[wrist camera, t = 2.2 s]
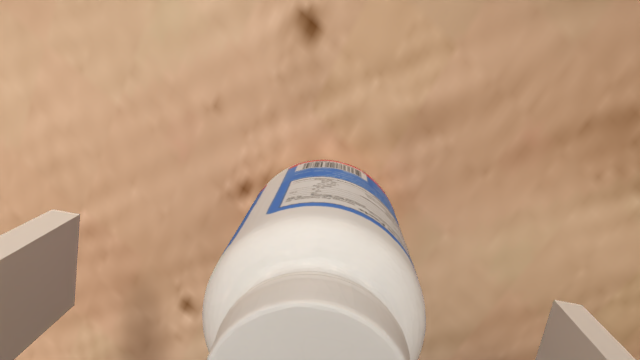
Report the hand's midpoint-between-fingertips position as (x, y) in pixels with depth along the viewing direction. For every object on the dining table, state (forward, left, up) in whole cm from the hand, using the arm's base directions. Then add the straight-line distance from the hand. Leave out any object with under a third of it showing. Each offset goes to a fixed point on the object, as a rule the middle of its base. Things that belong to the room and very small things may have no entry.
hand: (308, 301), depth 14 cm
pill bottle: (0, 0, -5) cm, 5 cm away
